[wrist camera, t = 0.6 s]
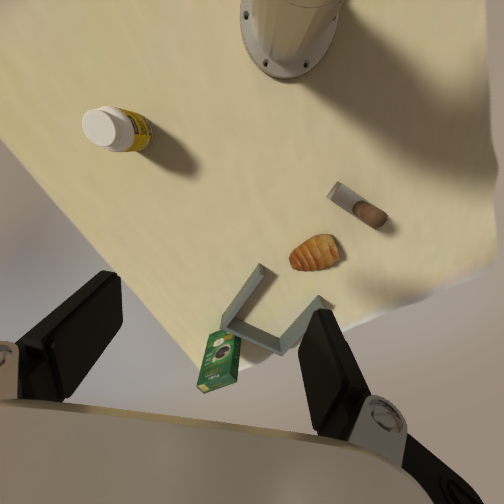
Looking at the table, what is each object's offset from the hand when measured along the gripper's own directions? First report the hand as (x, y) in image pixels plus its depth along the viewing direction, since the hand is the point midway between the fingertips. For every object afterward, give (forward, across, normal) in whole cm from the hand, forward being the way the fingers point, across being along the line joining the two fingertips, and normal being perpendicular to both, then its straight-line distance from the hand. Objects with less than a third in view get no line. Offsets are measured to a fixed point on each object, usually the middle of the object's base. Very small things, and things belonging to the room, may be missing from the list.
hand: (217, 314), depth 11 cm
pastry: (+32, -16, +9) cm, 37 cm away
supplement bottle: (+32, +18, -5) cm, 37 cm away
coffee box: (+32, -2, +34) cm, 47 cm away
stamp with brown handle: (+32, -20, -2) cm, 38 cm away
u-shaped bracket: (+32, -10, +24) cm, 41 cm away
